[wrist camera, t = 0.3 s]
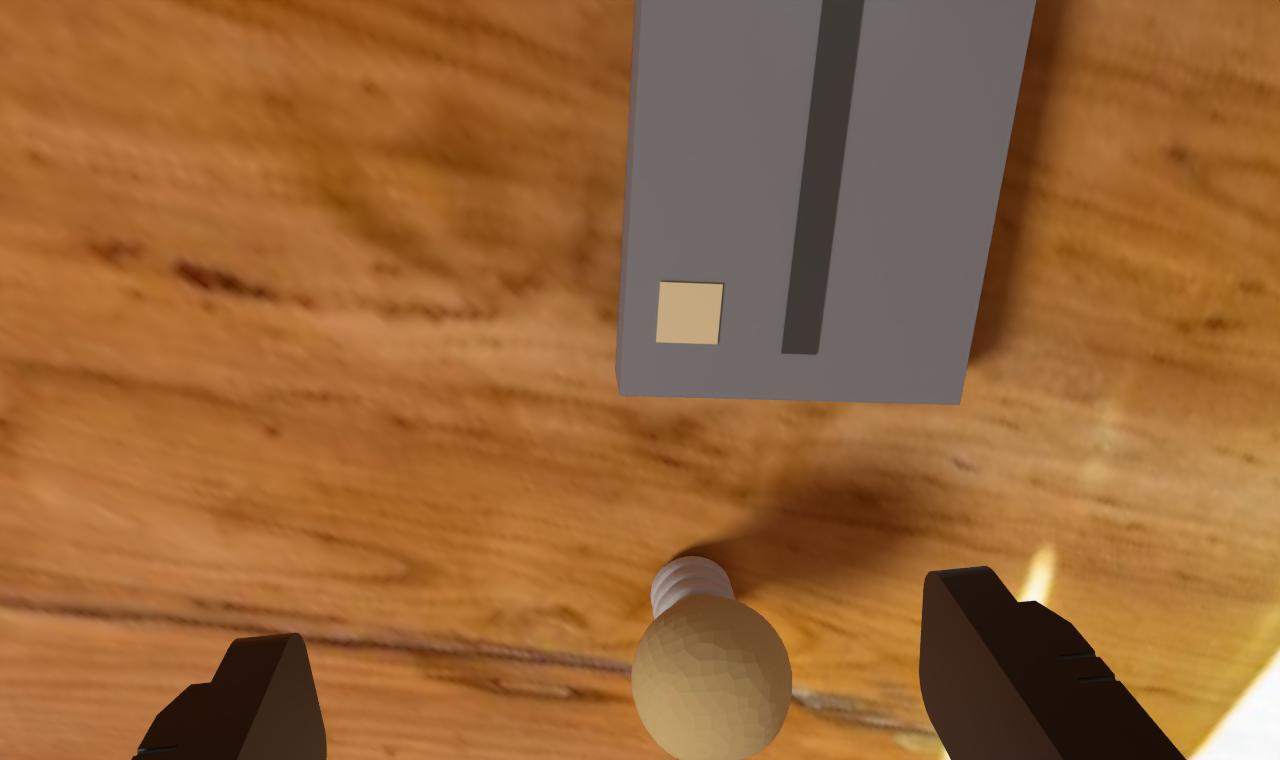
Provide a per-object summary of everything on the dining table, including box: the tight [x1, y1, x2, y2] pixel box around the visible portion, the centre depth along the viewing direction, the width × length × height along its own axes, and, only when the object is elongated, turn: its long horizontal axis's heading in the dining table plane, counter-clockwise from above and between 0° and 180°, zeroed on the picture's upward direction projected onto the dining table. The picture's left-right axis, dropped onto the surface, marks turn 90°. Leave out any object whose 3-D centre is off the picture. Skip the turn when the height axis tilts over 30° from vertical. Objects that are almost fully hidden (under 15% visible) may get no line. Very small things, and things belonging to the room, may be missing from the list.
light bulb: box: [632, 556, 792, 760], centre depth 40 cm, size 6×6×10 cm
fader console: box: [615, 0, 1036, 405], centre depth 36 cm, size 21×14×3 cm, turn 176°
